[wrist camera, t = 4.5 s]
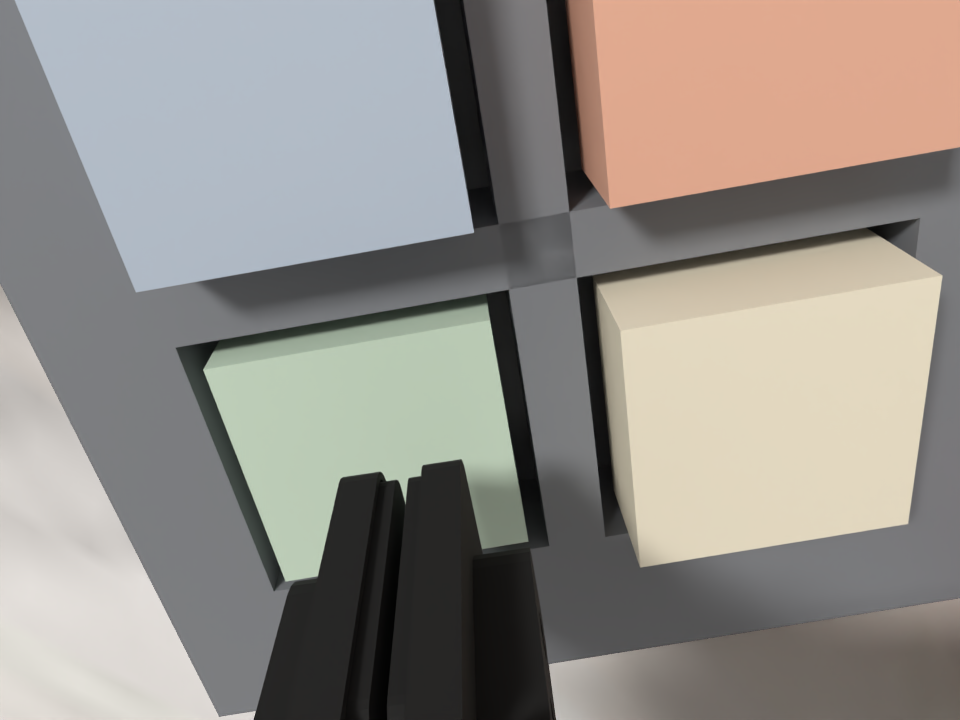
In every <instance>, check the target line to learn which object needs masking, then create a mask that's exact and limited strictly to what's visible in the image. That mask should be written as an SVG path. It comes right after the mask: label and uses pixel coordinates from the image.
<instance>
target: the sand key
mask: <svg viewBox="0 0 960 720" xmlns="http://www.w3.org/2000/svg"><path fill="white" fill-rule="evenodd" d="M592 277H593V287H594V297H595V307H596V317H597V327H598V337H599V347H600V357H601V367H602V377H603V387H604V397H605V407H606V417H607V427H608V437H609V447H610V457H611V467H612V477H613V488H614V492H615V495H616V498H617V501H618V504H619V507H620V510H621V513H622V516H623V519H624V522H625V525H626V528H627V530H628V533H629V536H630V539H631V542H632V545H633V548H634V551H635V554H636V557H637V560H638V563H639V566H640V568H641V567H647V566H653V565H659V564H666V563H672V562H678V561H684V560H690V559H696V558H702V557H709V556H715V555H721V554H727V553H733V552H739V551H745V550H751V549H758V548H764V547H770V546H776V545H782V544H788V543H794V542H801V541H807V540H813V539H819V538H825V537H831V536H837V535H843V534H850V533H856V532H862V531H868V530H874V529H880V528H886V527H892V526H899V525H905V524H908V521H909V514H910V506H911V499H912V492H913V485H914V478H915V470H916V463H917V456H918V449H919V442H920V434H921V427H922V420H923V413H924V406H925V398H926V391H927V384H928V377H929V370H930V363H931V355H932V348H933V341H934V334H935V327H936V319H937V312H938V305H939V298H940V291H941V283H942V275H941V274H939V273H938V272H936V271H934V270H933V269H931V268H930V267H928V266H926V265H925V264H923V263H922V262H920V261H918V260H917V259H915V258H914V257H912V256H910V255H909V254H907V253H906V252H904V251H902V250H901V249H899V248H898V247H896V246H894V245H893V244H891V243H890V242H888V241H886V240H885V239H883V238H882V237H880V236H878V235H877V234H875V233H874V232H872V231H870V230H869V229H867V228H861V229H856V230H850V231H844V232H839V233H833V234H827V235H821V236H816V237H810V238H804V239H798V240H793V241H787V242H781V243H775V244H770V245H764V246H758V247H752V248H747V249H741V250H735V251H729V252H724V253H718V254H712V255H706V256H701V257H695V258H689V259H683V260H678V261H672V262H666V263H660V264H655V265H649V266H643V267H637V268H632V269H626V270H620V271H615V272H609V273H603V274H597V275H592Z"/></svg>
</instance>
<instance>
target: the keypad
mask: <svg viewBox="0 0 960 720" xmlns="http://www.w3.org/2000/svg"><path fill="white" fill-rule="evenodd" d="M435 6H436V12H437V18H438V23H439V29H440V35H441V41H442V46H443V52H444V58H445V63H446V69H447V75H448V81H449V86H450V92H451V98H452V104H453V109H454V115H455V121H456V127H457V132H458V138H459V144H460V149H461V155H462V161H463V167H464V172H465V178H466V184H467V190H468V196H469V203H470V209H471V216H472V222H473V229H474V233H470V234H464V235H459V236H453V237H447V238H442V239H436V240H430V241H425V242H419V243H413V244H408V245H402V246H396V247H391V248H385V249H379V250H374V251H368V252H362V253H357V254H351V255H345V256H340V257H334V258H328V259H323V260H317V261H311V262H306V263H300V264H294V265H289V266H283V267H277V268H272V269H266V270H260V271H255V272H249V273H243V274H238V275H232V276H226V277H221V278H215V279H209V280H204V281H198V282H192V283H187V284H181V285H175V286H170V287H164V288H158V289H153V290H147V291H141V292H136V291H135V289H134V287H133V284H132V282H131V279H130V277H129V274H128V272H127V270H126V267H125V265H124V262H123V260H122V258H121V255H120V253H119V250H118V248H117V246H116V243H115V241H114V238H113V236H112V234H111V231H110V229H109V226H108V224H107V221H106V219H105V217H104V214H103V212H102V209H101V207H100V205H99V202H98V200H97V197H96V195H95V193H94V190H93V188H92V185H91V183H90V181H89V178H88V176H87V173H86V171H85V169H84V166H83V164H82V161H81V159H80V156H79V154H78V152H77V149H76V147H75V144H74V142H73V140H72V137H71V135H70V132H69V130H68V128H67V125H66V123H65V120H64V118H63V116H62V113H61V111H60V108H59V106H58V104H57V101H56V99H55V96H54V94H53V91H52V89H51V87H50V84H49V82H48V79H47V77H46V75H45V72H44V70H43V67H42V65H41V63H40V60H39V58H38V55H37V53H36V51H35V48H34V46H33V43H32V41H31V38H30V36H29V34H28V31H27V29H26V26H25V24H24V22H23V19H22V17H21V14H20V12H19V10H18V7H17V5H16V2H15V0H0V284H1V286H2V288H3V290H4V292H5V294H6V296H7V298H8V300H9V302H10V304H11V306H12V308H13V310H14V312H15V314H16V316H17V318H18V320H19V322H20V324H21V326H22V328H23V330H24V332H25V333H26V335H27V337H28V339H29V341H30V343H31V345H32V347H33V349H34V351H35V353H36V355H37V357H38V359H39V361H40V363H41V365H42V367H43V369H44V371H45V373H46V375H47V377H48V379H49V381H50V383H51V385H52V387H53V389H54V391H55V393H56V395H57V397H58V399H59V401H60V403H61V405H62V407H63V409H64V411H65V413H66V415H67V417H68V419H69V420H70V422H71V424H72V426H73V428H74V430H75V432H76V434H77V436H78V438H79V440H80V442H81V444H82V446H83V448H84V450H85V452H86V454H87V456H88V458H89V460H90V462H91V464H92V466H93V468H94V470H95V472H96V474H97V476H98V478H99V480H100V482H101V484H102V486H103V488H104V490H105V492H106V494H107V496H108V498H109V500H110V502H111V504H112V506H113V507H114V509H115V511H116V513H117V515H118V517H119V519H120V521H121V523H122V525H123V527H124V529H125V531H126V533H127V535H128V537H129V539H130V541H131V543H132V545H133V547H134V549H135V551H136V553H137V555H138V557H139V559H140V561H141V563H142V565H143V567H144V569H145V571H146V573H147V575H148V577H149V579H150V581H151V583H152V585H153V587H154V589H155V591H156V593H157V594H158V596H159V598H160V600H161V602H162V604H163V606H164V608H165V610H166V612H167V614H168V616H169V618H170V620H171V622H172V624H173V626H174V628H175V630H176V632H177V634H178V636H179V638H180V640H181V642H182V644H183V646H184V648H185V650H186V652H187V654H188V656H189V658H190V660H191V662H192V664H193V666H194V668H195V670H196V672H197V674H198V676H199V678H200V680H201V681H202V683H203V685H204V687H205V689H206V691H207V693H208V695H209V697H210V699H211V701H212V703H213V705H214V707H215V709H216V711H217V713H218V715H219V717H221V716H227V715H233V714H239V713H246V712H252V711H256V709H257V706H258V702H259V698H260V694H261V691H262V687H263V683H264V680H265V676H266V672H267V668H268V665H269V661H270V657H271V653H272V650H273V646H274V642H275V639H276V635H277V631H278V627H279V624H280V620H281V616H282V612H283V609H284V605H285V601H286V598H287V594H288V592H289V589H290V587H291V585H292V584H293V583H294V582H295V581H302V580H309V579H316V578H317V577H318V576H316V577H310V578H304V579H298V580H292V581H285V579H284V576H283V573H282V571H281V568H280V566H279V563H278V561H277V558H276V555H275V553H274V550H273V548H272V545H271V543H270V540H269V538H268V535H267V532H266V530H265V527H264V525H263V522H262V520H261V517H260V514H259V512H258V509H257V507H256V504H255V502H254V499H253V496H252V494H251V491H250V489H249V486H248V484H247V481H246V479H245V476H244V473H243V471H242V468H241V466H240V463H239V461H238V458H237V455H236V453H235V450H234V448H233V445H232V443H231V440H230V437H229V435H228V432H227V430H226V427H225V425H224V422H223V420H222V417H221V414H220V412H219V409H218V407H217V404H216V402H215V399H214V396H213V394H212V391H211V389H210V386H209V384H208V381H207V378H206V376H205V373H204V371H203V369H204V368H205V366H206V364H207V362H208V360H209V358H210V357H211V355H212V353H213V351H214V349H215V348H216V346H217V344H218V342H219V340H222V339H228V338H234V337H240V336H245V335H251V334H257V333H263V332H268V331H274V330H280V329H286V328H291V327H297V326H303V325H309V324H314V323H320V322H326V321H332V320H337V319H343V318H349V317H355V316H360V315H366V314H372V313H377V312H383V311H389V310H395V309H400V308H406V307H412V306H418V305H423V304H429V303H435V302H441V301H446V300H452V299H458V298H464V297H469V296H475V295H481V294H486V297H487V302H488V308H489V314H490V320H491V325H492V331H493V337H494V343H495V348H496V354H497V360H498V365H499V371H500V377H501V383H502V388H503V394H504V400H505V406H506V411H507V417H508V423H509V429H510V434H511V440H512V446H513V452H514V457H515V463H516V469H517V475H518V481H519V487H520V493H521V499H522V505H523V511H524V517H525V523H526V529H527V535H528V541H529V542H523V543H517V544H511V545H505V546H499V547H492V548H486V549H482V551H483V554H488V553H495V552H502V551H509V550H516V549H523V548H529V547H530V550H531V555H532V561H533V566H534V572H535V578H536V584H537V590H538V595H539V602H540V608H541V614H542V621H543V628H544V635H545V641H546V649H547V656H548V664H552V663H558V662H564V661H570V660H577V659H583V658H589V657H595V656H602V655H608V654H614V653H620V652H627V651H633V650H639V649H645V648H651V647H658V646H664V645H670V644H676V643H683V642H689V641H695V640H701V639H708V638H714V637H720V636H726V635H733V634H739V633H745V632H751V631H758V630H764V629H770V628H776V627H783V626H789V625H795V624H801V623H808V622H814V621H820V620H826V619H833V618H839V617H845V616H851V615H858V614H864V613H870V612H876V611H883V610H889V609H895V608H901V607H908V606H914V605H920V604H926V603H933V602H939V601H945V600H951V599H958V598H960V147H958V148H952V149H946V150H941V151H935V152H929V153H924V154H918V155H912V156H907V157H901V158H895V159H890V160H884V161H878V162H873V163H867V164H861V165H856V166H850V167H844V168H839V169H833V170H827V171H822V172H816V173H810V174H805V175H799V176H793V177H788V178H782V179H776V180H771V181H765V182H759V183H754V184H748V185H742V186H737V187H731V188H725V189H720V190H714V191H708V192H703V193H697V194H691V195H686V196H680V197H674V198H669V199H663V200H657V201H652V202H646V203H640V204H635V205H629V206H623V207H617V208H612V209H610V208H609V206H608V205H607V204H606V202H605V201H604V199H603V198H602V197H601V195H600V194H599V192H598V191H597V189H596V188H595V187H594V185H593V184H592V182H591V181H590V180H589V178H588V177H587V175H586V174H585V173H584V171H583V170H582V166H581V156H580V146H579V136H578V126H577V116H576V106H575V96H574V86H573V76H572V66H571V56H570V46H569V36H568V26H567V16H566V5H565V0H435ZM861 228H867V229H869V230H870V231H872V232H874V233H875V234H877V235H878V236H880V237H882V238H883V239H885V240H886V241H888V242H890V243H891V244H893V245H894V246H896V247H898V248H899V249H901V250H902V251H904V252H906V253H907V254H909V255H910V256H912V257H914V258H915V259H917V260H918V261H920V262H922V263H923V264H925V265H926V266H928V267H930V268H931V269H933V270H934V271H936V272H938V273H939V274H941V275H942V283H941V291H940V298H939V305H938V312H937V319H936V327H935V334H934V341H933V348H932V355H931V363H930V370H929V377H928V384H927V391H926V398H925V406H924V413H923V420H922V427H921V434H920V442H919V449H918V456H917V463H916V470H915V478H914V485H913V492H912V499H911V506H910V514H909V521H908V524H905V525H899V526H892V527H886V528H880V529H874V530H868V531H862V532H856V533H850V534H843V535H837V536H831V537H825V538H819V539H813V540H807V541H801V542H794V543H788V544H782V545H776V546H770V547H764V548H758V549H751V550H745V551H739V552H733V553H727V554H721V555H715V556H709V557H702V558H696V559H690V560H684V561H678V562H672V563H666V564H659V565H653V566H647V567H641V568H640V566H639V563H638V560H637V557H636V554H635V551H634V548H633V545H632V542H631V539H630V536H629V533H628V530H627V528H626V525H625V522H624V519H623V516H622V513H621V510H620V507H619V504H618V501H617V498H616V495H615V492H614V488H613V477H612V467H611V457H610V447H609V437H608V427H607V417H606V407H605V397H604V387H603V377H602V367H601V357H600V347H599V337H598V327H597V317H596V307H595V297H594V287H593V277H592V275H597V274H603V273H609V272H615V271H620V270H626V269H632V268H637V267H643V266H649V265H655V264H660V263H666V262H672V261H678V260H683V259H689V258H695V257H701V256H706V255H712V254H718V253H724V252H729V251H735V250H741V249H747V248H752V247H758V246H764V245H770V244H775V243H781V242H787V241H793V240H798V239H804V238H810V237H816V236H821V235H827V234H833V233H839V232H844V231H850V230H856V229H861Z"/></svg>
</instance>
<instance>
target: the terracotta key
mask: <svg viewBox="0 0 960 720" xmlns="http://www.w3.org/2000/svg"><path fill="white" fill-rule="evenodd" d="M565 5H566V16H567V26H568V36H569V46H570V56H571V66H572V76H573V86H574V96H575V106H576V116H577V126H578V136H579V146H580V156H581V166H582V170H583V171H584V173H585V174H586V175H587V177H588V178H589V180H590V181H591V182H592V184H593V185H594V187H595V188H596V189H597V191H598V192H599V194H600V195H601V197H602V198H603V199H604V201H605V202H606V204H607V205H608V206H609V208H610V209H612V208H617V207H623V206H629V205H635V204H640V203H646V202H652V201H657V200H663V199H669V198H674V197H680V196H686V195H691V194H697V193H703V192H708V191H714V190H720V189H725V188H731V187H737V186H742V185H748V184H754V183H759V182H765V181H771V180H776V179H782V178H788V177H793V176H799V175H805V174H810V173H816V172H822V171H827V170H833V169H839V168H844V167H850V166H856V165H861V164H867V163H873V162H878V161H884V160H890V159H895V158H901V157H907V156H912V155H918V154H924V153H929V152H935V151H941V150H946V149H952V148H958V147H960V0H565Z"/></svg>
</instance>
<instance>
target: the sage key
mask: <svg viewBox="0 0 960 720" xmlns="http://www.w3.org/2000/svg"><path fill="white" fill-rule="evenodd" d="M203 371H204V373H205V376H206V378H207V381H208V384H209V386H210V389H211V391H212V394H213V396H214V399H215V402H216V404H217V407H218V409H219V412H220V414H221V417H222V420H223V422H224V425H225V427H226V430H227V432H228V435H229V437H230V440H231V443H232V445H233V448H234V450H235V453H236V455H237V458H238V461H239V463H240V466H241V468H242V471H243V473H244V476H245V479H246V481H247V484H248V486H249V489H250V491H251V494H252V496H253V499H254V502H255V504H256V507H257V509H258V512H259V514H260V517H261V520H262V522H263V525H264V527H265V530H266V532H267V535H268V538H269V540H270V543H271V545H272V548H273V550H274V553H275V555H276V558H277V561H278V563H279V566H280V568H281V571H282V573H283V576H284V579H285V581H292V580H298V579H304V578H310V577H316V576H318V573H319V568H320V564H321V560H322V555H323V551H324V546H325V542H326V538H327V533H328V529H329V524H330V520H331V515H332V511H333V507H334V502H335V498H336V493H337V489H338V485H339V481H340V479H341V478H342V477H347V476H354V475H360V474H367V473H373V472H382V473H383V475H384V477H385V479H386V481H391V480H398V481H399V483H400V486H401V489H402V493H403V496H404V500H405V504H406V494H407V484H408V479H409V478H411V477H417V476H421V470H422V466H423V465H426V464H433V463H439V462H446V461H453V460H459V459H462V461H463V464H464V468H465V472H466V476H467V481H468V486H469V490H470V495H471V500H472V505H473V509H474V514H475V519H476V523H477V528H478V533H479V537H480V542H481V547H482V549H486V548H492V547H499V546H505V545H511V544H517V543H523V542H529V541H528V535H527V529H526V523H525V517H524V511H523V505H522V499H521V493H520V487H519V481H518V475H517V469H516V463H515V457H514V452H513V446H512V440H511V434H510V429H509V423H508V417H507V411H506V406H505V400H504V394H503V388H502V383H501V377H500V371H499V365H498V360H497V354H496V348H495V343H494V337H493V331H492V325H491V320H490V314H489V308H488V302H487V297H486V294H481V295H475V296H469V297H464V298H458V299H452V300H446V301H441V302H435V303H429V304H423V305H418V306H412V307H406V308H400V309H395V310H389V311H383V312H377V313H372V314H366V315H360V316H355V317H349V318H343V319H337V320H332V321H326V322H320V323H314V324H309V325H303V326H297V327H291V328H286V329H280V330H274V331H268V332H263V333H257V334H251V335H245V336H240V337H234V338H228V339H222V340H219V342H218V344H217V346H216V348H215V349H214V351H213V353H212V355H211V357H210V358H209V360H208V362H207V364H206V366H205V368H204V369H203Z"/></svg>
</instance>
